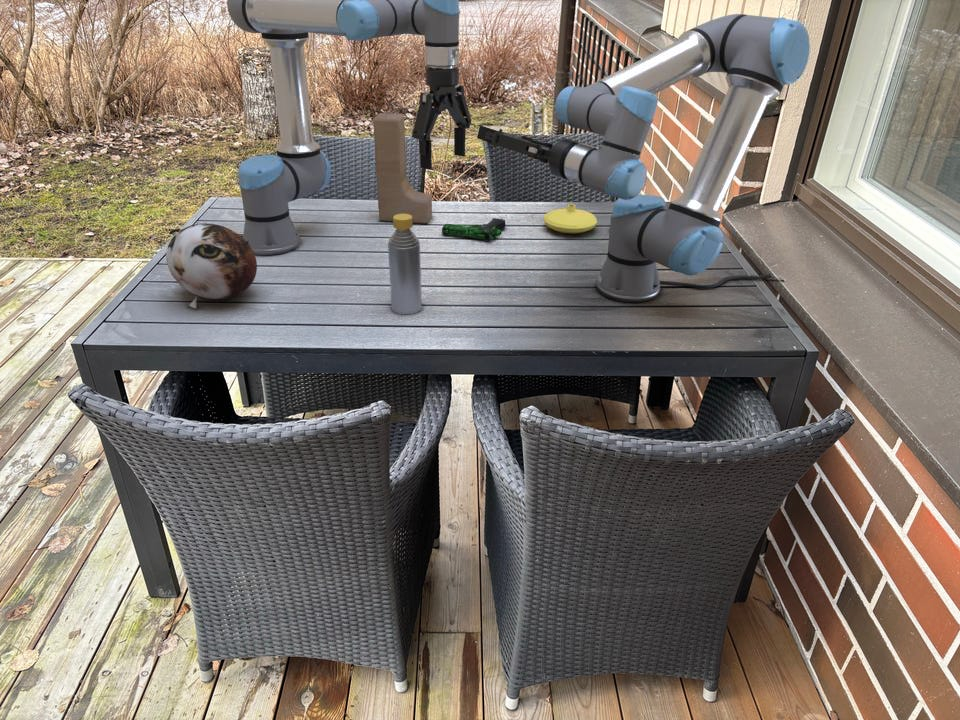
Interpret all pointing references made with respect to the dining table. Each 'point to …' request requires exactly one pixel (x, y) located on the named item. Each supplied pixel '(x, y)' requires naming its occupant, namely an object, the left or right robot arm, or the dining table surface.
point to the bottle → (405, 272)
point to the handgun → (476, 230)
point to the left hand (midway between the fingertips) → (443, 161)
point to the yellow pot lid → (570, 220)
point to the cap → (402, 221)
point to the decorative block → (396, 172)
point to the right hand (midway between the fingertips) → (501, 137)
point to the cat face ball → (211, 261)
